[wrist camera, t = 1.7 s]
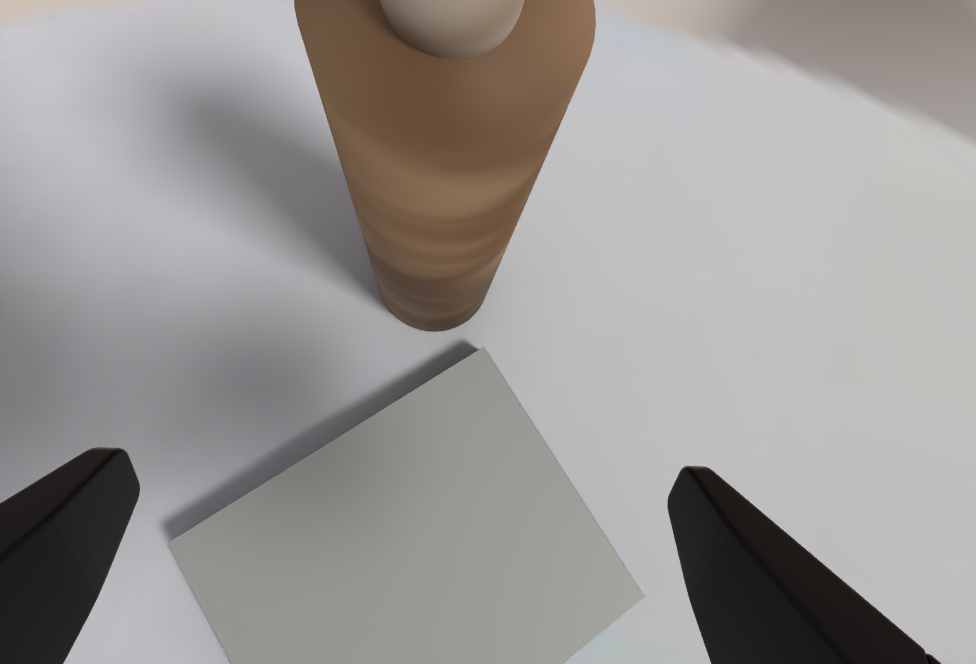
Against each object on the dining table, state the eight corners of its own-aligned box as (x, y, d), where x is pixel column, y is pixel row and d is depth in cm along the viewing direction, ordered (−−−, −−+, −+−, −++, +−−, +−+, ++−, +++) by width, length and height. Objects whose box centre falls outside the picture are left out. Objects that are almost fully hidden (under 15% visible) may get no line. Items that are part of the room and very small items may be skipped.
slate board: (338, 825, 18) (332, 852, 17) (182, 537, 19) (166, 543, 18) (632, 587, 21) (644, 596, 20) (480, 351, 22) (484, 346, 21)
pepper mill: (415, 352, 22) (390, 123, 6) (358, 260, 23) (189, -183, 6) (508, 296, 23) (701, -28, 7) (451, 209, 24) (508, -278, 7)
